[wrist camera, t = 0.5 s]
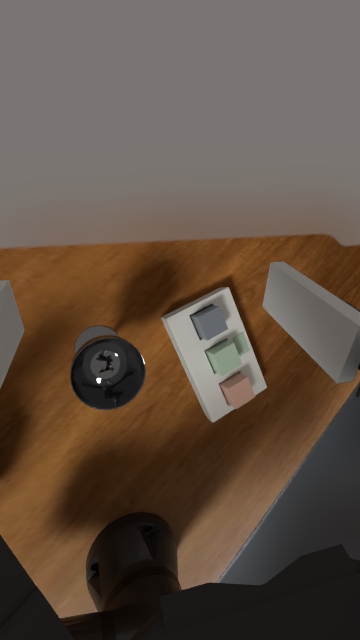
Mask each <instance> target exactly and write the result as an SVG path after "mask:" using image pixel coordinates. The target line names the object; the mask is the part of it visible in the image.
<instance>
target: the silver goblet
mask: <svg viewBox="0 0 360 640" xmlns="http://www.w3.org/2000/svg"><path fill="white" fill-rule="evenodd" d="M145 373H146V369H145V363H144V360H143V358H142V356H141V354H140V352H139V351H138V350H137V348H136V347H135V346H133V345H132V344H131V343H130V342H128V341H127V340H125V339H124V338H121V337H119V336H118V335H117V333H116V332H115V331H114V330H112V329H110V328H108V327H105V326H93V327H90V328H88V329H86V330H85V331H83V332H82V333H81V334H80V335H79V337H78V338H77V340H76V343H75V356H74V358H73V361H72V365H71V371H70V379H71V385H72V388H73V391H74V393H75V394H76V396H77V397H78V398H79V399H80V401H82V402H83V403H84V404H85V405H87V406H89V407H91V408H94V409H98V410H112V409H117V408H119V407H122V406H124V405H126V404H127V403H129V402H130V401H131V400H133V399H134V398H135V397H136V395H137V394H138V393H139V391H140V390H141V388H142V386H143V384H144V380H145Z"/></svg>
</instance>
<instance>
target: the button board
mask: <svg viewBox="0 0 360 640" xmlns="http://www.w3.org/2000/svg"><path fill="white" fill-rule="evenodd" d="M210 305H212V306H219V307H220V309H221V312H222V314H223V317H224V319H225V322H226V324H227V327H228V330H226V331H224V332H222V333H220V334H219V335H217V336H215V337H213V338H211V339H210V340H208V341H207V340H204V339H202V338H199V336H198V335H197V333H196V330H195V328H194V326H193V323H192V321H191V319H190V316H189V315H191V314H193V313H195V312H197V311H199V310H201V309H202V308H204V307H206V306H207V307H208V306H210ZM161 319H162V321H163V323H164V326H165V328H166V330H167V332H168V334H169V337H170V339H171V341H172V343H173V345H174V348H175V350H176V352H177V354H178V356H179V359H180V361H181V363H182V365H183V367H184V370H185V372H186V374H187V376H188V378H189V381H190V383H191V385H192V387H193V389H194V392H195V394H196V396H197V398H198V400H199V403H200V405H201V407H202V409H203V411H204V414H205V416H206V417H207V418H208V419H209V420H210V421H211V422H212V423H214V422H215V421H217V420H218V419H220V418H221V417H223V416H224V415H226V414H227V413H229V412H230V411H232V410H234V409H235V408H234V407H233V406H231V405H230V404H229V403H227V401H226V399H225V397H224V396H223V393H222V391H221V389H220V386H219V383H220V382H222V381H224V380H225V379H227V378H229V377H230V376H232V375H233V374H235V373H237V372H239V373H241V374H243V375H245V376H247V377H248V379H249V382H250V384H251V387H252V389H253V392H254V394H255V395H257V394H258V393H260V392H261V391H263V390H264V389H266V388H267V386H266V383H265V380H264V378H263V375H262V373H261V370H260V367H259V365H258V362H257V360H256V357H255V354H254V352H253V349H252V347H251V344H250V341H249V339H248V336H247V334H246V331H245V328H244V326H243V323H242V321H241V318H240V315H239V313H238V310H237V308H236V305H235V302H234V300H233V297H232V295H231V292H230V289H229V287H220V288H218V289H216V290H214V291H212V292H210V293H208V294H206V295H204V296H202V297H200V298H198V299H196V300H194V301H192V302H190V303H188V304H186V305H184V306H182V307H180V308H178V309H176V310H174V311H172V312H170V313H168V314H166V315H164V316H162V317H161ZM223 340H227V341H230V342H233V343H234V344H235V347H236V349H237V352H238V354H239V357H240V359H241V362H242V365H240V366H238V367H237V368H235V369H233V370H232V371H230V372H228V373H227V374H225V375H223V376H221V375H220V374H218V373H216V372H215V371H213V368H212V367H211V365H210V363H209V361H208V358H207V356H206V354H205V351H204V350H206V349H208V348H210V347H212V346H213V345H215V344H217V343H219V342H220V341H223Z"/></svg>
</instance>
